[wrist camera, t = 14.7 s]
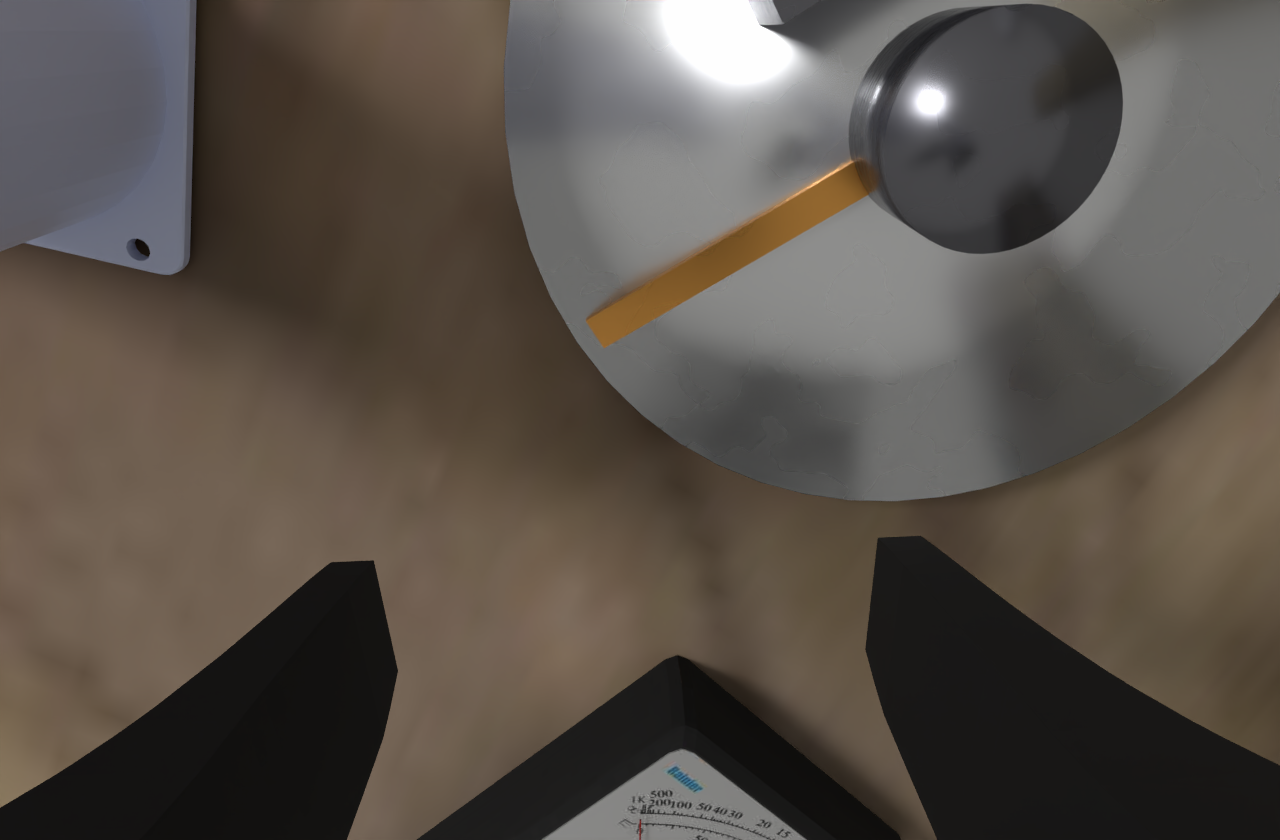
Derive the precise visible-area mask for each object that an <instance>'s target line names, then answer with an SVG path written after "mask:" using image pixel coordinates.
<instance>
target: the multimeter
mask: <svg viewBox="0 0 1280 840" xmlns="http://www.w3.org/2000/svg"><path fill="white" fill-rule="evenodd" d="M417 840H901V839H900V837H899V835H898V833H896V832H895V831H894V830H893V829H892V828H890V827H889V826H888V825H887V824H886V823H884V822H883V821H882V820H881V819H880V818H878V817H877V816H876V815H875V814H874V813H872V812H871V811H870V810H869V809H867V808H866V807H865V806H864V805H863V804H861V803H860V802H859V801H858V800H857V799H855V798H854V797H853V796H852V795H851V794H849V793H848V792H847V791H846V790H845V789H843V788H842V787H841V786H840V785H839V784H837V783H836V782H835V781H834V780H832V779H831V778H830V777H829V776H828V775H826V774H825V773H824V772H823V771H822V770H820V769H819V768H818V767H817V766H816V765H814V764H813V763H812V762H811V761H810V760H808V759H807V758H806V757H805V756H804V755H802V754H801V753H800V752H799V751H798V750H796V749H795V748H794V747H793V746H791V745H790V744H789V743H788V742H787V741H785V740H784V739H783V738H782V737H781V736H779V735H778V734H777V733H776V732H775V731H773V730H772V729H771V728H770V727H769V726H767V725H766V724H765V723H764V722H763V721H761V720H760V719H759V718H758V717H756V716H755V715H754V714H753V713H752V712H750V711H749V710H748V709H747V708H746V707H744V706H743V705H742V704H741V703H740V702H738V701H737V700H736V699H735V698H734V697H732V696H731V695H730V694H729V693H728V692H726V691H725V690H724V689H723V688H722V687H720V686H719V685H718V684H717V683H715V682H714V681H713V680H712V679H711V678H709V677H708V676H707V675H706V674H705V673H703V672H702V671H701V670H700V669H699V668H697V667H696V666H695V665H694V664H693V663H691V662H690V661H689V660H687V659H685V658H682V657H680V656H674V657H671V658H669V659H666V660H664V661H663V662H661V663H660V664H658V665H657V666H656V667H654V668H653V669H652V670H650V671H649V672H647V673H646V674H645V675H643V676H642V677H641V678H639V679H638V680H636V681H635V682H634V683H632V684H631V685H630V686H628V687H627V688H625V689H624V690H623V691H621V692H620V693H618V694H617V695H616V696H614V697H613V698H612V699H610V700H609V701H607V702H606V703H605V704H603V705H602V706H601V707H599V708H598V709H596V710H595V711H594V712H592V713H591V714H589V715H588V716H587V717H585V718H584V719H583V720H581V721H580V722H578V723H577V724H576V725H574V726H573V727H572V728H570V729H569V730H567V731H566V732H565V733H563V734H562V735H561V736H559V737H558V738H556V739H555V740H554V741H552V742H551V743H549V744H548V745H547V746H545V747H544V748H543V749H541V750H540V751H538V752H537V753H536V754H534V755H533V756H532V757H530V758H529V759H527V760H526V761H525V762H523V763H522V764H520V765H519V766H518V767H516V768H515V769H514V770H512V771H511V772H509V773H508V774H507V775H505V776H504V777H503V778H501V779H500V780H498V781H497V782H496V783H494V784H493V785H492V786H490V787H489V788H487V789H486V790H485V791H483V792H482V793H480V794H479V795H478V796H476V797H475V798H474V799H472V800H471V801H469V802H468V803H467V804H465V805H464V806H463V807H461V808H460V809H458V810H457V811H456V812H454V813H453V814H451V815H450V816H449V817H447V818H446V819H445V820H443V821H442V822H440V823H439V824H438V825H436V826H435V827H434V828H432V829H431V830H429V831H428V832H427V833H425V834H424V835H423V836H421V837H420V838H418V839H417Z"/></svg>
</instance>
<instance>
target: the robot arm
mask: <svg viewBox="0 0 1280 840" xmlns="http://www.w3.org/2000/svg"><path fill="white" fill-rule="evenodd" d="M196 1H197V0H0V251H3V250H6V249H8V248H11V247H14V246H17V245H19V244H22V243H27V244H31V245H35V246H40V247H44V248H48V249H53V250H57V251H61V252H66V253H70V254H74V255H79V256H83V257H87V258H92V259H96V260H100V261H105V262H109V263H113V264H118V265H122V266H126V267H131V268H135V269H139V270H144V271H148V272H152V273H157V274H161V275H172V274H174V273H177V272H179V271H181V270H182V269H184V268H185V267H186V265H187V264H188V262H189V258H190V235H191V196H192V157H193V118H194V79H195V40H196ZM136 239H140V240H142V241H144V242H145V243H146V244H147V245H148V246H149V250H150V255H149V256H145V255H143V254H141V253H140V252H139V251H138V250H137V248H136V245H135V241H136ZM865 650H866V653H867V657H868V661H869V664H870V668H871V672H872V675H873V679H874V683H875V686H876V690H877V693H878V696H879V700H880V703H881V706H882V710H883V713H884V716H885V718H886V721H887V723H888V725H889V728H890V730H891V733H892V735H893V737H894V740H895V742H896V744H897V747H898V749H899V752H900V754H901V756H902V759H903V761H904V763H905V766H906V768H907V770H908V773H909V775H910V777H911V780H912V782H913V784H914V786H915V789H916V791H917V793H918V796H919V798H920V800H921V803H922V805H923V807H924V810H925V812H926V814H927V817H928V819H929V821H930V823H931V826H932V828H933V830H934V833H935V835H936V837H937V840H1280V766H1279V765H1277V764H1275V763H1273V762H1271V761H1269V760H1267V759H1265V758H1263V757H1261V756H1259V755H1257V754H1255V753H1253V752H1251V751H1249V750H1247V749H1245V748H1243V747H1241V746H1239V745H1237V744H1235V743H1233V742H1231V741H1229V740H1227V739H1225V738H1223V737H1221V736H1219V735H1217V734H1215V733H1213V732H1212V731H1210V730H1208V729H1206V728H1204V727H1202V726H1200V725H1198V724H1196V723H1195V722H1193V721H1191V720H1189V719H1187V718H1186V717H1184V716H1182V715H1180V714H1179V713H1177V712H1175V711H1173V710H1172V709H1170V708H1168V707H1166V706H1165V705H1163V704H1161V703H1159V702H1158V701H1156V700H1154V699H1152V698H1151V697H1149V696H1147V695H1145V694H1144V693H1142V692H1140V691H1139V690H1137V689H1135V688H1133V687H1132V686H1130V685H1129V684H1127V683H1125V682H1124V681H1122V680H1120V679H1119V678H1117V677H1116V676H1114V675H1112V674H1111V673H1109V672H1108V671H1106V670H1104V669H1103V668H1101V667H1100V666H1098V665H1097V664H1095V663H1094V662H1092V661H1091V660H1089V659H1088V658H1086V657H1085V656H1083V655H1082V654H1080V653H1079V652H1077V651H1076V650H1074V649H1073V648H1071V647H1070V646H1068V645H1067V644H1065V643H1064V642H1062V641H1061V640H1059V639H1058V638H1057V637H1055V636H1054V635H1052V634H1051V633H1049V632H1048V631H1047V630H1045V629H1044V628H1042V627H1041V626H1039V625H1038V624H1037V623H1035V622H1034V621H1033V620H1031V619H1030V618H1028V617H1027V616H1026V615H1024V614H1023V613H1022V612H1020V611H1019V610H1018V609H1016V608H1015V607H1014V606H1012V605H1011V604H1009V603H1008V602H1007V601H1005V600H1004V599H1003V598H1002V597H1000V596H999V595H998V594H996V593H995V592H994V591H992V590H991V589H990V588H988V587H987V586H986V585H984V584H983V583H982V582H981V581H979V580H978V579H977V578H975V577H974V576H973V575H972V574H970V573H969V572H968V571H966V570H965V569H964V568H963V567H961V566H960V565H959V564H957V563H956V562H955V561H954V560H952V559H951V558H950V557H948V556H947V555H946V554H944V553H943V552H942V551H941V550H939V549H938V548H937V547H935V546H934V545H933V544H931V543H930V542H928V541H927V540H926V539H924V538H923V537H921V536H908V537H886V538H878V541H877V550H876V559H875V568H874V577H873V586H872V595H871V604H870V613H869V622H868V631H867V640H866V649H865ZM397 673H398V669H397V664H396V660H395V655H394V651H393V646H392V642H391V637H390V633H389V628H388V624H387V619H386V614H385V610H384V605H383V601H382V596H381V592H380V587H379V583H378V578H377V574H376V569H375V564H374V561H351V562H331V563H330V564H328V565H327V566H326V567H324V568H323V569H322V570H321V571H319V572H318V573H317V574H316V575H314V576H313V577H312V578H311V579H310V580H309V581H307V582H306V583H305V584H304V585H303V586H302V587H300V588H299V589H298V590H297V591H296V592H295V593H293V594H292V595H291V596H290V597H289V598H288V599H286V600H285V601H284V602H283V603H282V604H281V605H280V606H278V607H277V608H276V609H275V610H274V611H273V612H272V613H270V614H269V615H268V616H267V617H266V618H265V619H263V620H262V621H261V622H260V623H259V624H257V625H256V626H255V627H254V628H253V629H252V630H250V631H249V632H248V633H247V634H246V635H244V636H243V637H242V638H241V639H240V640H239V641H237V642H236V643H235V644H234V645H233V646H231V647H230V648H229V649H228V650H227V651H226V652H224V653H223V654H222V655H221V656H220V657H218V658H217V659H216V660H214V661H213V662H212V663H211V664H209V665H208V666H207V667H206V668H204V669H203V670H202V671H200V672H199V673H198V674H197V675H195V676H194V677H193V678H191V679H190V680H189V681H188V682H186V683H185V684H184V685H182V686H181V687H180V688H179V689H177V690H176V691H175V692H174V693H172V694H171V695H170V696H168V697H167V698H166V699H165V700H163V701H162V702H161V703H159V704H158V705H157V706H156V707H154V708H153V709H152V710H150V711H149V712H147V713H146V714H145V715H143V716H142V717H141V718H139V719H138V720H136V721H135V722H134V723H132V724H131V725H129V726H128V727H127V728H125V729H124V730H122V731H121V732H119V733H118V734H117V735H115V736H114V737H112V738H111V739H109V740H108V741H106V742H105V743H103V744H102V745H100V746H99V747H97V748H96V749H94V750H93V751H91V752H90V753H88V754H87V755H85V756H84V757H82V758H81V759H79V760H78V761H76V762H75V763H73V764H72V765H70V766H69V767H67V768H66V769H64V770H62V771H61V772H59V773H58V774H56V775H55V776H53V777H51V778H50V779H48V780H46V781H45V782H43V783H41V784H40V785H38V786H36V787H35V788H33V789H31V790H29V791H28V792H26V793H24V794H23V795H21V796H19V797H18V798H16V799H14V800H13V801H11V802H9V803H8V804H6V805H4V806H3V807H1V808H0V840H347V837H348V835H349V832H350V829H351V826H352V824H353V821H354V818H355V816H356V813H357V810H358V807H359V805H360V802H361V799H362V796H363V794H364V791H365V788H366V785H367V782H368V780H369V777H370V774H371V771H372V768H373V766H374V763H375V760H376V757H377V754H378V751H379V748H380V746H381V743H382V740H383V737H384V732H385V728H386V724H387V720H388V715H389V711H390V707H391V702H392V697H393V692H394V687H395V682H396V678H397Z"/></svg>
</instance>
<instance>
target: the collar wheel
mask: <svg viewBox="0 0 1280 840" xmlns="http://www.w3.org/2000/svg"><path fill="white" fill-rule="evenodd" d="M504 96H505V133H506V140H507V147H508V154H509V160H510V167H511V174H512V181H513V187H514V193H515V197H516V200H517V204H518V208H519V211H520V215H521V218H522V222H523V226H524V229H525V233H526V236H527V240H528V243H529V247H530V250H531V252H532V254H533V257H534V259H535V261H536V264H537V266H538V268H539V271H540V273H541V276H542V278H543V280H544V283H545V285H546V287H547V290H548V292H549V294H550V297H551V299H552V300H553V302H554V304H555V306H556V307H557V309H558V311H559V312H560V314H561V316H562V317H563V319H564V321H565V323H566V324H567V326H568V328H569V329H570V331H571V333H572V334H573V336H574V338H575V340H576V341H577V343H578V344H579V345H580V347H581V348H582V349H583V351H584V352H585V353H586V354H587V356H588V357H589V358H590V359H591V361H592V362H593V363H594V365H595V366H596V367H597V368H598V370H599V371H600V372H601V374H602V375H603V376H604V377H605V379H606V380H607V381H608V382H609V383H610V384H611V385H612V386H613V387H614V388H615V389H616V390H617V391H618V392H619V393H620V394H621V395H622V396H623V397H624V398H625V399H626V400H627V401H628V402H629V403H630V404H631V405H632V406H633V407H634V408H635V409H636V410H637V411H638V412H639V413H640V414H641V415H643V416H644V417H645V418H647V419H648V420H649V421H651V422H652V423H653V424H655V425H656V426H657V427H659V428H660V429H661V430H663V431H664V432H665V433H667V434H668V435H669V436H671V437H672V438H673V439H675V440H676V441H677V442H679V443H680V444H682V445H684V446H685V447H687V448H689V449H691V450H693V451H694V452H696V453H698V454H700V455H701V456H703V457H705V458H707V459H709V460H710V461H712V462H714V463H716V464H717V465H719V466H722V467H724V468H727V469H729V470H732V471H734V472H737V473H739V474H742V475H744V476H747V477H749V478H751V479H754V480H756V481H759V482H762V483H765V484H769V485H773V486H777V487H780V488H784V489H788V490H792V491H795V492H799V493H803V494H809V495H816V496H823V497H830V498H838V499H845V500H865V501H902V500H914V499H925V498H936V497H944V496H949V495H954V494H959V493H964V492H969V491H974V490H979V489H984V488H989V487H992V486H995V485H998V484H1001V483H1005V482H1008V481H1011V480H1014V479H1018V478H1021V477H1024V476H1027V475H1030V474H1034V473H1036V472H1039V471H1041V470H1043V469H1046V468H1048V467H1050V466H1053V465H1055V464H1058V463H1060V462H1062V461H1065V460H1067V459H1069V458H1072V457H1074V456H1076V455H1079V454H1081V453H1083V452H1085V451H1087V450H1088V449H1090V448H1092V447H1094V446H1096V445H1098V444H1099V443H1101V442H1103V441H1105V440H1107V439H1109V438H1110V437H1112V436H1114V435H1116V434H1118V433H1120V432H1121V431H1123V430H1125V429H1127V428H1128V427H1130V426H1131V425H1133V424H1134V423H1136V422H1137V421H1139V420H1140V419H1142V418H1143V417H1145V416H1146V415H1148V414H1149V413H1151V412H1152V411H1153V410H1155V409H1156V408H1158V407H1159V406H1161V405H1162V404H1164V403H1165V402H1167V401H1168V400H1170V399H1171V398H1172V397H1174V396H1175V395H1176V394H1177V393H1179V392H1180V391H1181V390H1182V389H1183V388H1185V387H1186V386H1187V385H1188V384H1189V383H1191V382H1192V381H1193V380H1194V379H1196V378H1197V377H1198V376H1199V375H1200V374H1202V373H1203V372H1204V371H1205V370H1206V369H1208V368H1209V367H1210V366H1211V365H1213V364H1214V363H1215V362H1216V361H1217V360H1218V359H1219V358H1220V357H1221V356H1222V355H1223V354H1224V353H1225V352H1226V351H1227V350H1228V349H1229V348H1230V347H1231V346H1232V345H1233V344H1234V343H1235V342H1236V341H1237V340H1238V339H1239V338H1240V337H1241V336H1242V335H1243V334H1244V333H1245V332H1246V331H1247V330H1248V329H1249V328H1250V327H1251V326H1252V325H1253V324H1254V323H1255V322H1256V321H1257V319H1258V318H1259V317H1260V316H1261V315H1262V313H1263V312H1264V311H1265V310H1266V309H1267V307H1268V306H1269V305H1270V304H1271V303H1272V302H1273V300H1274V299H1275V298H1276V297H1277V296H1278V294H1279V293H1280V0H511V1H510V11H509V21H508V31H507V41H506V51H505V61H504Z"/></svg>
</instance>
